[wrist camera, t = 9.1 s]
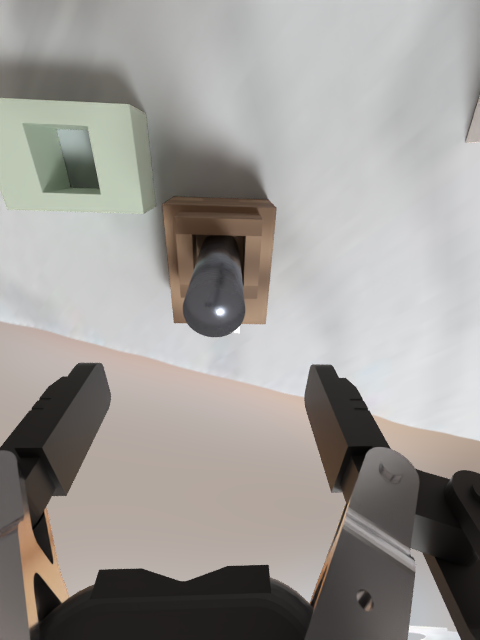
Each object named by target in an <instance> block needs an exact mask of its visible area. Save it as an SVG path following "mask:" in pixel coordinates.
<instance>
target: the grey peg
mask: <svg viewBox="0 0 480 640" xmlns="http://www.w3.org/2000/svg"><path fill="white" fill-rule="evenodd" d="M183 315H184V318H185V320H186V322H187V324H188V325H189V326H190V327H191V328H192V329H193V330H194V331H196V332H197V333H199V334H202V335H204V336H208V337H222V336H226V335H228V334H230V333H232V332H234V331H235V330H236V329H237V328H238V327H239V326H240V325H241V324H242V322H243V320H244V317H245V300H244V291H243V282H242V273H241V264H240V255H239V247H238V244H237V242H236V240H235V239H234V238H233V237H232V236H231V235H208V236H207V237H206V238H205V239H204V241H203V243H202V246H201V249H200V252H199V255H198V258H197V261H196V265H195V268H194V271H193V274H192V277H191V280H190V283H189V287H188V290H187V293H186V296H185V299H184V302H183Z"/></svg>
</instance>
